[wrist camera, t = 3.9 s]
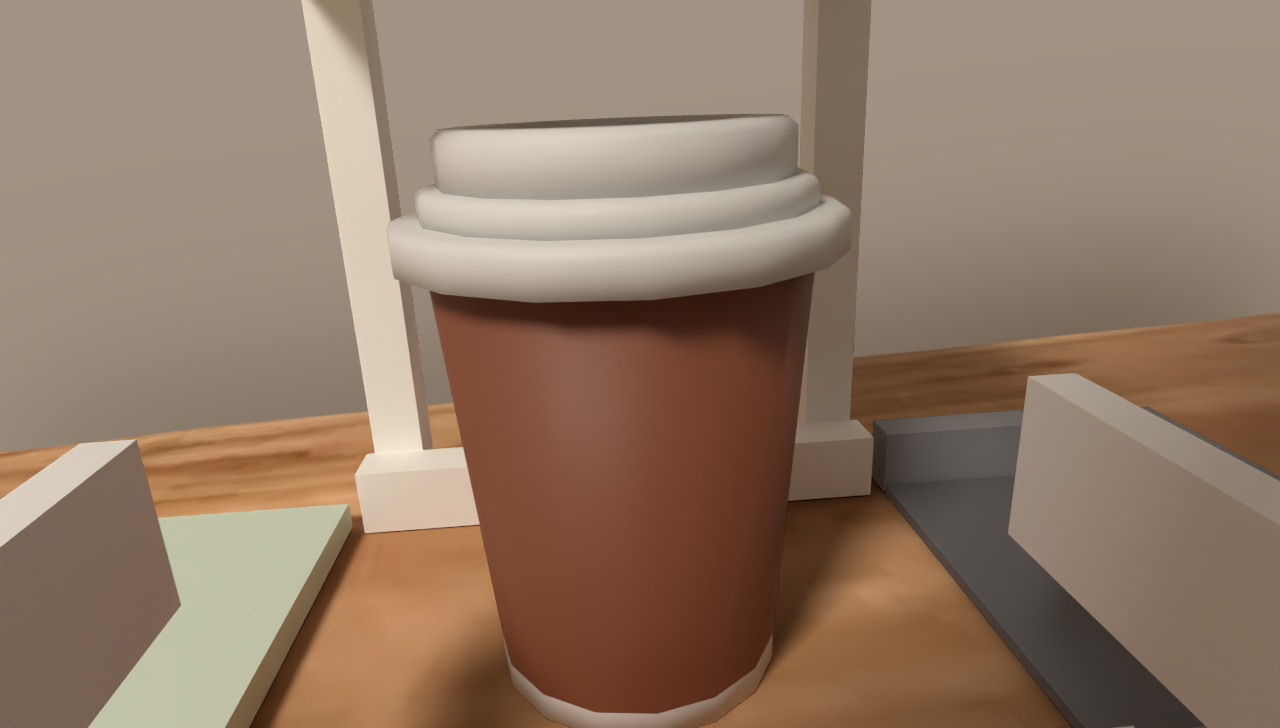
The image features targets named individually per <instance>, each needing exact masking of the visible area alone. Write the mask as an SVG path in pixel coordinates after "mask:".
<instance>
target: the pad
mask: <svg viewBox="0 0 1280 728" xmlns="http://www.w3.org/2000/svg"><path fill="white" fill-rule="evenodd" d="M158 521H159V525H160V528H161V532H162V536H163V540H164V543H165V547H166V551H167V554H168V558H169V562H170V565H171V569H172V573H173V577H174V580H175V584H176V588H177V591H178V595H179V599H180V603H181V606H180V607H179V609H178V610H177V611H176V613H175V614H174V615H173V616H172V618H171V619H170V620H169V622H168V623H167V624H166V626H165V627H164V628H163V630H162V631H161V632H160V634H159V635H158V636H157V638H156V639H155V640H154V641H153V643H152V644H151V645H150V647H149V648H148V649H147V651H146V652H145V653H144V655H143V656H142V657H141V659H140V660H139V661H138V662H137V664H136V665H135V666H134V668H133V669H132V670H131V672H130V673H129V674H128V676H127V677H126V678H125V680H124V681H123V682H122V684H121V685H120V686H119V687H118V689H117V690H116V691H115V693H114V694H113V695H112V697H111V698H110V699H109V701H108V702H107V703H106V705H105V706H104V707H103V709H102V710H101V711H100V712H99V714H98V715H97V716H96V718H95V719H94V720H93V722H92V723H91V724H90V726H89V727H88V728H249V727H250V725H251V723H252V721H253V719H254V717H255V715H256V714H257V712H258V710H259V708H260V706H261V704H262V702H263V700H264V698H265V696H266V694H267V692H268V690H269V688H270V686H271V684H272V682H273V680H274V679H275V677H276V675H277V673H278V671H279V669H280V667H281V665H282V663H283V661H284V659H285V657H286V655H287V653H288V651H289V649H290V647H291V645H292V644H293V642H294V640H295V638H296V636H297V634H298V632H299V630H300V628H301V626H302V624H303V622H304V620H305V618H306V616H307V614H308V612H309V610H310V609H311V607H312V605H313V603H314V601H315V599H316V597H317V595H318V593H319V591H320V589H321V587H322V585H323V583H324V581H325V579H326V577H327V575H328V574H329V572H330V570H331V568H332V566H333V564H334V562H335V560H336V558H337V556H338V554H339V552H340V550H341V548H342V546H343V544H344V542H345V540H346V539H347V537H348V535H349V533H350V531H351V529H352V527H353V525H352V519H351V514H350V508H349V504H339V505H325V506H312V507H298V508H285V509H271V510H257V511H244V512H230V513H217V514H203V515H190V516H176V517H163V518H158Z"/></svg>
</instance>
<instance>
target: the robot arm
mask: <svg viewBox="0 0 1280 728" xmlns="http://www.w3.org/2000/svg"><path fill="white" fill-rule="evenodd" d="M1008 534H1009V535H1010V536H1011V537H1012V538H1013V539H1014V540H1015V541H1016V542H1017V543H1018V544H1019V545H1020V546H1021V547H1022V548H1023V549H1024V550H1025V551H1026V552H1027V553H1028V554H1029V555H1030V556H1031V557H1032V558H1033V559H1034V560H1036V561H1037V562H1038V563H1039V564H1040V565H1041V566H1042V567H1043V568H1044V569H1045V570H1046V571H1047V572H1048V573H1049V574H1050V575H1051V576H1052V577H1053V578H1054V579H1055V580H1056V581H1057V582H1058V583H1059V584H1060V585H1061V586H1062V587H1063V588H1064V589H1065V590H1066V591H1067V592H1068V593H1069V594H1070V595H1071V596H1073V597H1074V598H1075V599H1076V600H1077V601H1078V602H1079V603H1080V604H1081V605H1082V606H1083V607H1084V608H1085V609H1086V610H1087V611H1088V612H1089V613H1090V614H1091V615H1092V616H1093V617H1094V618H1095V619H1096V620H1097V621H1098V622H1099V623H1100V624H1101V625H1102V626H1103V627H1104V628H1105V629H1106V630H1107V631H1109V632H1110V633H1111V634H1112V635H1113V636H1114V637H1115V638H1116V639H1117V640H1118V641H1119V642H1120V643H1121V644H1122V645H1123V646H1124V647H1125V648H1126V649H1127V650H1128V651H1129V652H1130V653H1131V654H1132V655H1133V656H1134V657H1135V658H1136V659H1137V660H1138V661H1139V662H1140V663H1141V664H1142V665H1143V666H1144V667H1146V668H1147V669H1148V670H1149V671H1150V672H1151V673H1152V674H1153V675H1154V676H1155V677H1156V678H1157V679H1158V680H1159V681H1160V682H1161V683H1162V684H1163V685H1164V686H1165V687H1166V688H1167V689H1168V690H1169V691H1170V692H1171V693H1172V694H1173V695H1174V696H1175V697H1176V698H1177V699H1178V700H1179V701H1180V702H1181V703H1183V704H1184V705H1185V706H1186V707H1187V708H1188V709H1189V710H1190V711H1191V712H1192V713H1193V714H1194V715H1195V716H1196V717H1197V718H1198V719H1199V720H1200V721H1201V722H1202V723H1203V724H1204V725H1205V726H1206V727H1207V728H1280V481H1279V480H1277V479H1275V478H1273V477H1271V476H1269V475H1267V474H1265V473H1263V472H1262V471H1260V470H1258V469H1256V468H1254V467H1252V466H1250V465H1248V464H1246V463H1245V462H1243V461H1241V460H1239V459H1237V458H1235V457H1233V456H1231V455H1229V454H1228V453H1226V452H1224V451H1222V450H1220V449H1218V448H1216V447H1214V446H1212V445H1211V444H1209V443H1207V442H1205V441H1203V440H1201V439H1199V438H1197V437H1196V436H1194V435H1192V434H1190V433H1188V432H1186V431H1184V430H1182V429H1180V428H1179V427H1177V426H1175V425H1173V424H1171V423H1169V422H1167V421H1165V420H1163V419H1162V418H1160V417H1158V416H1156V415H1154V414H1152V413H1150V412H1148V411H1146V410H1145V409H1143V408H1141V407H1139V406H1137V405H1135V404H1133V403H1131V402H1129V401H1128V400H1126V399H1124V398H1122V397H1120V396H1118V395H1116V394H1114V393H1112V392H1111V391H1109V390H1107V389H1105V388H1103V387H1101V386H1099V385H1097V384H1095V383H1094V382H1092V381H1090V380H1088V379H1086V378H1084V377H1082V376H1080V375H1078V374H1077V373H1068V374H1054V375H1040V376H1028V380H1027V388H1026V396H1025V404H1024V412H1023V419H1022V427H1021V435H1020V443H1019V451H1018V459H1017V467H1016V474H1015V482H1014V490H1013V498H1012V506H1011V514H1010V521H1009V529H1008ZM180 606H181V603H180V599H179V595H178V591H177V588H176V584H175V580H174V577H173V573H172V569H171V565H170V562H169V558H168V554H167V551H166V547H165V543H164V540H163V536H162V532H161V528H160V525H159V521H158V517H157V514H156V510H155V506H154V502H153V499H152V495H151V491H150V488H149V484H148V480H147V476H146V473H145V469H144V465H143V462H142V458H141V454H140V450H139V447H138V443H137V440H123V441H109V442H95V443H81V444H78V445H77V446H76V447H74V448H73V449H71V450H70V451H68V452H67V453H66V454H64V455H63V456H61V457H60V458H59V459H57V460H56V461H54V462H53V463H51V464H50V465H49V466H47V467H46V468H44V469H43V470H42V471H40V472H39V473H37V474H36V475H34V476H33V477H32V478H30V479H29V480H27V481H26V482H24V483H23V484H22V485H20V486H19V487H17V488H16V489H15V490H13V491H12V492H10V493H9V494H7V495H6V496H5V497H3V498H2V499H0V728H88V727H89V726H90V724H91V723H92V722H93V720H94V719H95V718H96V716H97V715H98V714H99V712H100V711H101V710H102V709H103V707H104V706H105V705H106V703H107V702H108V701H109V699H110V698H111V697H112V695H113V694H114V693H115V691H116V690H117V689H118V687H119V686H120V685H121V684H122V682H123V681H124V680H125V678H126V677H127V676H128V674H129V673H130V672H131V670H132V669H133V668H134V666H135V665H136V664H137V662H138V661H139V660H140V659H141V657H142V656H143V655H144V653H145V652H146V651H147V649H148V648H149V647H150V645H151V644H152V643H153V641H154V640H155V639H156V638H157V636H158V635H159V634H160V632H161V631H162V630H163V628H164V627H165V626H166V624H167V623H168V622H169V620H170V619H171V618H172V616H173V615H174V614H175V613H176V611H177V610H178V609H179V607H180Z"/></svg>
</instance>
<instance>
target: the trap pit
mask: <svg viewBox="0 0 1280 728" xmlns="http://www.w3.org/2000/svg"><path fill="white" fill-rule="evenodd" d="M1141 408H1143V409H1145V410H1146V411H1148V412H1150V413H1152V414H1154V415H1156V416H1158V417H1160V418H1162V419H1163V420H1165V421H1167V422H1169V423H1171V424H1173V425H1175V426H1177V427H1179V428H1180V429H1182V430H1184V431H1186V432H1188V433H1190V434H1192V435H1194V436H1196V437H1197V438H1199V439H1201V440H1203V441H1205V442H1207V443H1209V444H1211V445H1212V446H1214V447H1216V448H1218V449H1220V450H1222V451H1224V452H1226V453H1228V454H1229V455H1231V456H1233V457H1235V458H1237V459H1239V460H1241V461H1243V462H1245V463H1246V464H1248V465H1250V466H1252V467H1254V468H1256V469H1258V470H1260V471H1262V472H1263V473H1265V474H1267V475H1269V476H1271V477H1273V478H1275V479H1277V480H1279V481H1280V476H1278V475H1276V474H1274V473H1272V472H1270V471H1269V470H1267V469H1265V468H1263V467H1261V466H1259V465H1257V464H1255V463H1253V462H1252V461H1250V460H1248V459H1246V458H1244V457H1242V456H1240V455H1238V454H1236V453H1235V452H1233V451H1231V450H1229V449H1227V448H1225V447H1223V446H1221V445H1219V444H1218V443H1216V442H1214V441H1212V440H1210V439H1208V438H1206V437H1204V436H1202V435H1200V434H1199V433H1197V432H1195V431H1193V430H1191V429H1189V428H1187V427H1185V426H1183V425H1182V424H1180V423H1178V422H1176V421H1174V420H1172V419H1170V418H1168V417H1166V416H1165V415H1163V414H1161V413H1159V412H1157V411H1155V410H1153V409H1151V408H1149V407H1141ZM1023 412H1024V410H1013V411H998V412H984V413H970V414H956V415H941V416H927V417H913V418H899V419H884V420H874V421H873V437H874V443H873V459H872V475H871V476H872V478H873V479H874V480H875V481H876V483H877V484H878V485H879V486H880V488H881V489H882V490H883V491H885V494H886V495H887V496H888V497H889V499H890V500H891V501H892V502H893V504H894V505H895V506H896V507H897V509H898V510H899V511H900V512H901V514H902V515H903V516H904V517H905V519H906V520H907V521H908V522H909V524H910V525H911V526H912V527H913V529H914V530H915V531H916V532H917V534H918V535H919V536H920V537H921V539H922V540H923V541H924V542H925V544H926V545H927V546H928V547H929V549H930V550H931V551H932V552H933V554H934V555H935V556H936V557H937V559H938V560H939V561H940V562H941V564H942V565H943V566H944V567H945V569H946V570H947V571H948V572H949V574H950V575H951V576H952V577H953V579H954V580H955V581H956V582H957V584H958V585H959V586H960V587H961V588H962V590H963V591H964V592H965V593H966V595H967V596H968V597H969V598H970V600H971V601H972V602H973V603H974V605H975V606H976V607H977V608H978V610H979V611H980V612H981V613H982V615H983V616H984V617H985V618H986V620H987V621H988V622H989V623H990V625H991V626H992V627H993V628H994V630H995V631H996V632H997V633H998V635H999V636H1000V637H1001V638H1002V640H1003V641H1004V642H1005V643H1006V645H1007V646H1008V647H1009V648H1010V650H1011V651H1012V652H1013V653H1014V655H1015V656H1016V657H1017V658H1018V660H1019V661H1020V662H1021V663H1022V665H1023V666H1024V667H1025V668H1026V670H1027V671H1028V672H1029V673H1030V675H1031V676H1032V677H1033V678H1034V679H1035V681H1036V682H1037V683H1038V684H1039V686H1040V687H1041V688H1042V689H1043V691H1044V692H1045V693H1046V694H1047V696H1048V697H1049V698H1050V699H1051V701H1052V702H1053V703H1054V704H1055V706H1056V707H1057V708H1058V709H1059V711H1060V712H1061V713H1062V714H1063V716H1064V717H1065V718H1066V719H1067V721H1068V722H1069V723H1070V724H1071V726H1072V727H1073V728H1116V727H1127V726H1134V727H1135V728H1207V727H1206V726H1205V725H1204V724H1203V723H1202V722H1201V721H1200V720H1199V719H1198V718H1197V717H1196V716H1195V715H1194V714H1193V713H1192V712H1191V711H1190V710H1189V709H1188V708H1187V707H1186V706H1185V705H1184V704H1183V703H1181V702H1180V701H1179V700H1178V699H1177V698H1176V697H1175V696H1174V695H1173V694H1172V693H1171V692H1170V691H1169V690H1168V689H1167V688H1166V687H1165V686H1164V685H1163V684H1162V683H1161V682H1160V681H1159V680H1158V679H1157V678H1156V677H1155V676H1154V675H1153V674H1152V673H1151V672H1150V671H1149V670H1148V669H1147V668H1146V667H1144V666H1143V665H1142V664H1141V663H1140V662H1139V661H1138V660H1137V659H1136V658H1135V657H1134V656H1133V655H1132V654H1131V653H1130V652H1129V651H1128V650H1127V649H1126V648H1125V647H1124V646H1123V645H1122V644H1121V643H1120V642H1119V641H1118V640H1117V639H1116V638H1115V637H1114V636H1113V635H1112V634H1111V633H1110V632H1109V631H1107V630H1106V629H1105V628H1104V627H1103V626H1102V625H1101V624H1100V623H1099V622H1098V621H1097V620H1096V619H1095V618H1094V617H1093V616H1092V615H1091V614H1090V613H1089V612H1088V611H1087V610H1086V609H1085V608H1084V607H1083V606H1082V605H1081V604H1080V603H1079V602H1078V601H1077V600H1076V599H1075V598H1074V597H1073V596H1071V595H1070V594H1069V593H1068V592H1067V591H1066V590H1065V589H1064V588H1063V587H1062V586H1061V585H1060V584H1059V583H1058V582H1057V581H1056V580H1055V579H1054V578H1053V577H1052V576H1051V575H1050V574H1049V573H1048V572H1047V571H1046V570H1045V569H1044V568H1043V567H1042V566H1041V565H1040V564H1039V563H1038V562H1037V561H1036V560H1034V559H1033V558H1032V557H1031V556H1030V555H1029V554H1028V553H1027V552H1026V551H1025V550H1024V549H1023V548H1022V547H1021V546H1020V545H1019V544H1018V543H1017V542H1016V541H1015V540H1014V539H1013V538H1012V537H1011V536H1010V535H1009V534H1008V529H1009V521H1010V514H1011V506H1012V498H1013V490H1014V482H1015V474H1016V467H1017V459H1018V451H1019V443H1020V435H1021V427H1022V419H1023Z"/></svg>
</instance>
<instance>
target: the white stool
mask: <svg viewBox="0 0 1280 728" xmlns="http://www.w3.org/2000/svg"><path fill="white" fill-rule="evenodd" d="M301 1H302V6H303V13H304V19H305V25H306V31H307V38H308V43H309V49H310V56H311V62H312V68H313V75H314V81H315V87H316V92H317V99H318V105H319V111H320V117H321V124H322V129H323V136H324V142H325V148H326V154H327V161H328V166H329V173H330V179H331V185H332V191H333V196H334V197H333V198H334V204H335V210H336V215H337V222H338V228H339V234H340V241H341V247H342V253H343V259H344V265H345V271H346V277H347V283H348V290H349V296H350V301H351V308H352V314H353V320H354V326H355V333H356V339H357V344H358V351H359V357H360V363H361V369H362V375H363V382H364V388H365V394H366V400H367V406H368V413H369V419H370V425H371V431H372V437H373V443H374V450H375V453H372V454H367V455H366V457H365V458H364V460H363V462H362V464H361V465H360V467H359V469H358V470H357V472H356V474H355V479H356V485H357V491H358V496H359V502H360V508H361V514H362V519H363V525H364V531H365V533H376V532H389V531H402V530H415V529H428V528H441V527H454V526H467V525H480V524H479V519H478V515H477V510H476V505H475V501H474V496H473V491H472V487H471V482H470V477H469V473H468V468H467V463H466V459H465V454H464V449H463V447H458V448H443V449H433V444H432V437H431V430H430V422H429V415H428V408H427V400H426V394H425V386H424V378H423V372H422V364H421V356H420V349H419V342H418V334H417V327H416V321H415V312H414V305H413V298H412V291H411V284H408V283H405V282H402V281H399V280H396V279H394V276H393V270H392V265H391V259H390V252H389V245H388V238H387V231H386V230H387V227H388V223H389V222H391V221H393V220H395V219H397V218H400V217H401V209H400V202H399V195H398V188H397V180H396V173H395V166H394V158H393V151H392V143H391V136H390V129H389V121H388V115H387V107H386V100H385V92H384V85H383V78H382V70H381V63H380V56H379V48H378V41H377V33H376V26H375V19H374V11H373V4H372V0H301ZM870 19H871V0H804V20H803V58H802V59H803V60H802V96H801V97H802V99H801V135H800V136H801V137H800V168H801V169H803V170H806V171H807V172H809V173H810V174H812V175H813V176H815V177H816V178H817V180H818V182H819V185H820V193H821V194H826V195H829V196H832V197H834V198H835V199H837V200H838V201H840V202H841V203H842V204H844V205H845V206H846V207H848V208H849V209H850V212H851V214H852V217H853V218H852V239H851V250H850V251H849V252H847V253H846V254H845V255H844V256H843V257H841V258H840V259H839V260H838V261H837V262H835V263H834V264H833V265H832V266H831V267H829V268H828V269H824V270H820V271H817V272H815V274H814V283H813V292H812V300H811V309H810V317H809V326H808V334H807V343H806V352H805V360H804V369H803V377H802V386H801V394H800V403H799V412H798V420H797V429H796V437H795V446H794V454H793V463H792V472H791V480H790V489H789V497H788V501H793V500H807V499H820V498H833V497H846V496H859V495H870V492H871V475H872V459H873V443H874V437H873V436H872V435H871V434H870V433H869V432H868V431H867V430H866V429H865V427H864V426H863V425H862V424H861V423H860V422H859V421H858V420H850V410H851V390H852V371H853V351H854V332H855V312H856V292H857V272H858V253H859V233H860V214H861V195H862V194H861V193H862V175H863V156H864V136H865V115H866V96H867V77H868V58H869V38H870V37H869V36H870ZM1116 728H1135V727H1134V726H1127V727H1116Z"/></svg>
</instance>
